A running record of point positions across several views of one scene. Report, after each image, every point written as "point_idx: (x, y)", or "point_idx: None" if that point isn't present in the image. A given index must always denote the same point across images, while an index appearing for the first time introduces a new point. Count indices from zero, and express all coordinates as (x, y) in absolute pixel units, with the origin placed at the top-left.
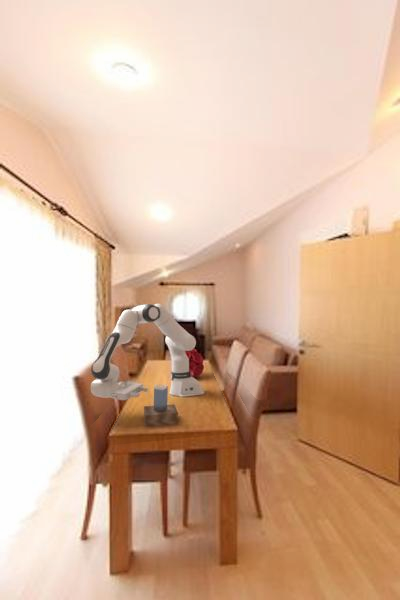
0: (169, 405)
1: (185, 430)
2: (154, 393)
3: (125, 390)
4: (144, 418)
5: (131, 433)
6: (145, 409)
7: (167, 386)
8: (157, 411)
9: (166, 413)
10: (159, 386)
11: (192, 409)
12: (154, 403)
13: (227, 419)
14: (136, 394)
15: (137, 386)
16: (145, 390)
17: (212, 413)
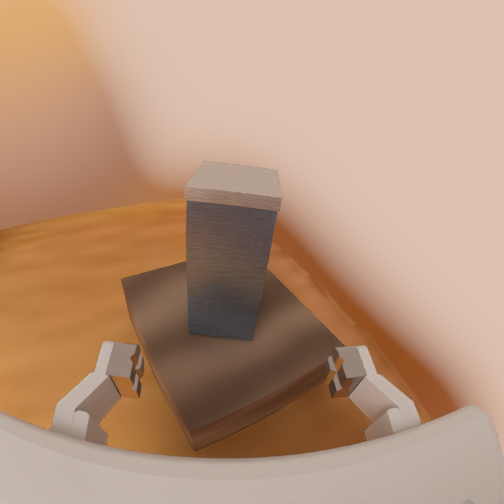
0: (142, 294)
1: (281, 256)
2: (270, 245)
3: (425, 493)
4: (235, 431)
5: (407, 389)
6: (253, 395)
7: (210, 163)
8: (259, 319)
9: (268, 277)
10: (240, 180)
11: (69, 273)
12: (259, 305)
13: (163, 201)
14: (366, 366)
15: (120, 459)
16: (137, 367)
17: (115, 226)
